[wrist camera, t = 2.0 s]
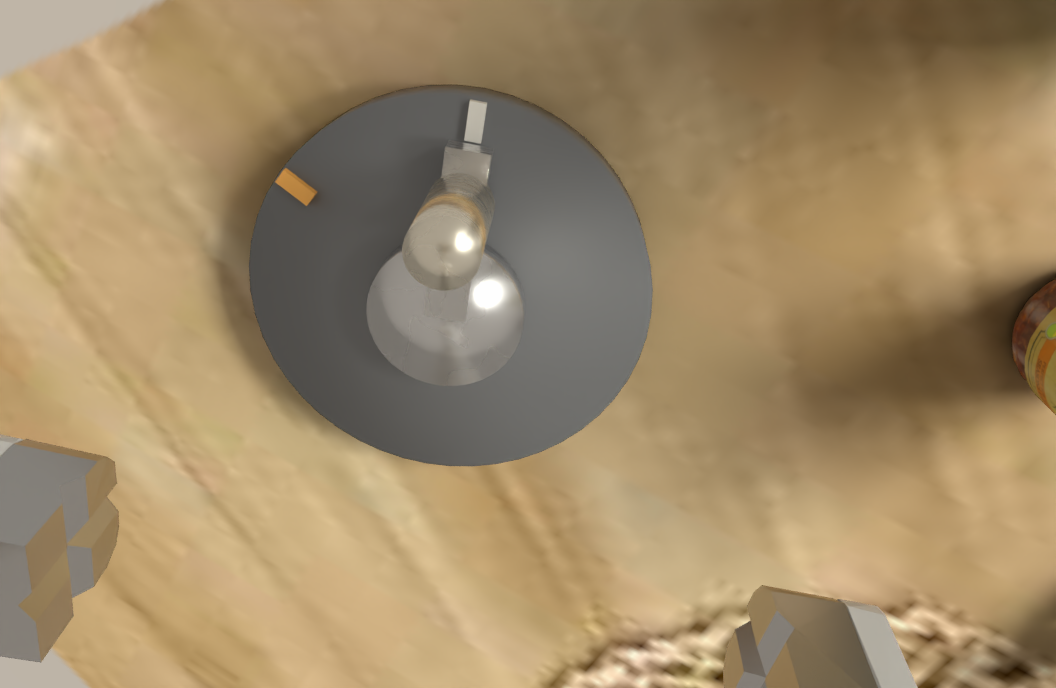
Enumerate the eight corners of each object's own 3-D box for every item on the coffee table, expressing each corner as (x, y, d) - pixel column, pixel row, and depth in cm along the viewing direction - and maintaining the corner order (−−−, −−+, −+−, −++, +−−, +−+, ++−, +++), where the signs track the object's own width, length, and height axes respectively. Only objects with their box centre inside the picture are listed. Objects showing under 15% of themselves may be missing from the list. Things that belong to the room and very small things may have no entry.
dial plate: (601, 466, 37) (603, 497, 35) (262, 408, 37) (244, 436, 35) (693, 128, 30) (702, 142, 28) (271, 47, 29) (249, 55, 27)
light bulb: (511, 382, 33) (500, 469, 28) (367, 357, 33) (327, 440, 27) (554, 157, 29) (551, 209, 23) (388, 126, 28) (347, 171, 23)
